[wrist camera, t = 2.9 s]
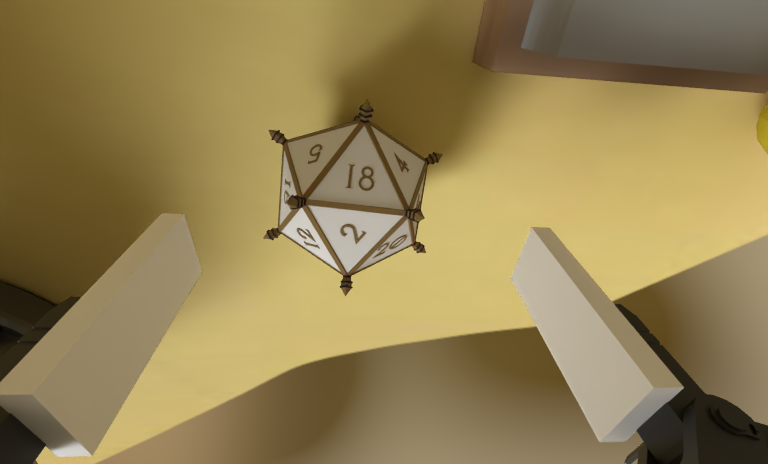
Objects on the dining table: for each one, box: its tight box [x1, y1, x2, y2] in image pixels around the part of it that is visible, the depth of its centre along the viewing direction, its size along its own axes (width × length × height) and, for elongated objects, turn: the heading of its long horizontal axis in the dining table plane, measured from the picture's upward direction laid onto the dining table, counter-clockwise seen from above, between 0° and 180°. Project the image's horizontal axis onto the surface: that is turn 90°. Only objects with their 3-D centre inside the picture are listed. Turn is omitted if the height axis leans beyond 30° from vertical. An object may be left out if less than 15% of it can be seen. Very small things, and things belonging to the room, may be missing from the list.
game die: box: [263, 99, 443, 296], centre depth 16 cm, size 9×8×10 cm
